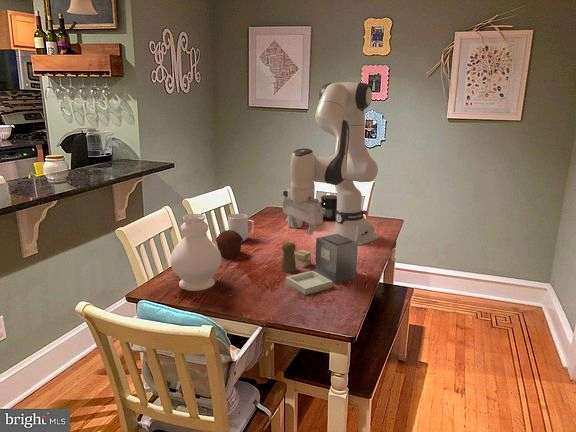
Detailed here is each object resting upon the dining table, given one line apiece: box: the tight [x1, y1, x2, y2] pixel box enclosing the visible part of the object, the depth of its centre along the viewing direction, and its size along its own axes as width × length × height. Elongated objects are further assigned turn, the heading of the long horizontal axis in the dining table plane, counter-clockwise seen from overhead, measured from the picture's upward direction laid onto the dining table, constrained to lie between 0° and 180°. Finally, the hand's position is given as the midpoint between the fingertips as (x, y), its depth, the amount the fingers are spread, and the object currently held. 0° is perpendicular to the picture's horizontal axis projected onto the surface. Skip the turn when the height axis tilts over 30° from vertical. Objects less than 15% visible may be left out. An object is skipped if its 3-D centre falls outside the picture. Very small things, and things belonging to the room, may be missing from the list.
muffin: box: [215, 229, 243, 259], centre depth 200 cm, size 12×11×10 cm
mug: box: [227, 213, 255, 242], centre depth 219 cm, size 12×9×11 cm
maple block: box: [294, 249, 312, 268], centre depth 191 cm, size 5×5×5 cm
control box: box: [314, 233, 359, 284], centre depth 179 cm, size 10×12×14 cm
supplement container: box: [319, 194, 337, 222], centre depth 254 cm, size 10×10×12 cm
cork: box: [280, 241, 297, 274], centre depth 184 cm, size 6×6×11 cm
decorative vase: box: [169, 213, 222, 292], centre depth 169 cm, size 18×18×25 cm
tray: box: [285, 270, 334, 296], centre depth 171 cm, size 12×12×2 cm
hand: (301, 230), depth 177 cm, fingers open, 8 cm apart
